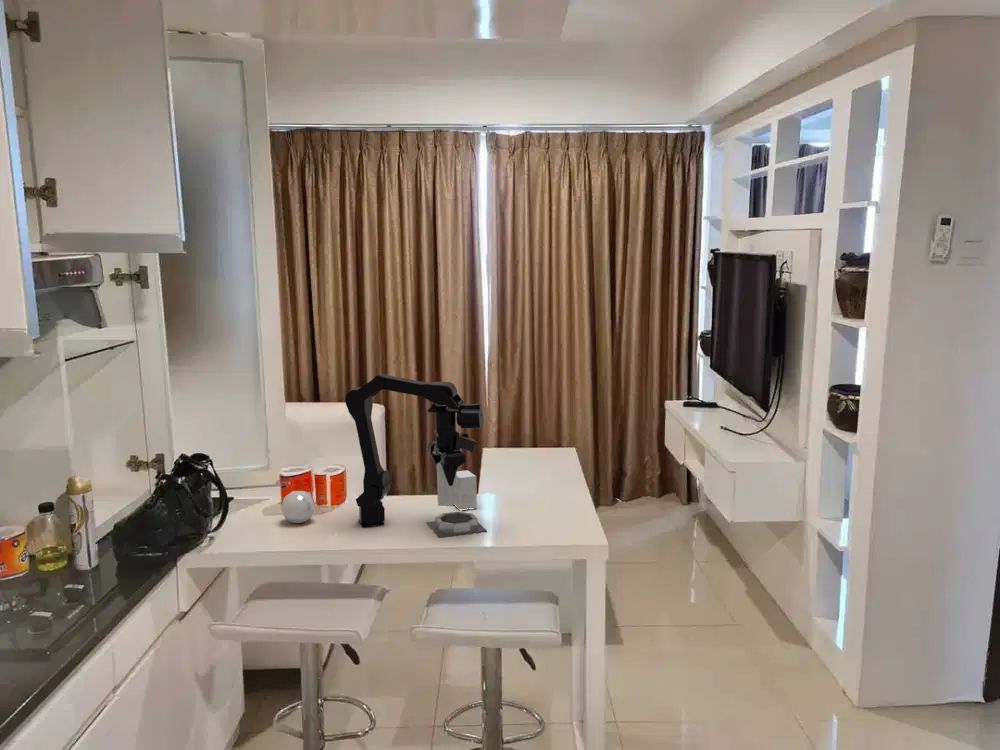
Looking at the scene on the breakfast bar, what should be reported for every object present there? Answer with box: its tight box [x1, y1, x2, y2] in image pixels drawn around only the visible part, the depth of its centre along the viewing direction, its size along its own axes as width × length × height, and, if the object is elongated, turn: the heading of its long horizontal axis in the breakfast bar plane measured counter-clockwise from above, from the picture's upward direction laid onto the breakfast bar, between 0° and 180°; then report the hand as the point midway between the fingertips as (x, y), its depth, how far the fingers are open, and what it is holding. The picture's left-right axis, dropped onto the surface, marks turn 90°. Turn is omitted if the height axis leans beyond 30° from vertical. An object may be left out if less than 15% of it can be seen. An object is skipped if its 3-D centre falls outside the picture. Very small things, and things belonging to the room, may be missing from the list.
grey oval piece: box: [280, 490, 316, 524], centre depth 220 cm, size 9×10×15 cm
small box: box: [454, 470, 478, 509], centre depth 232 cm, size 8×6×10 cm
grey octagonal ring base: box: [426, 511, 488, 539], centre depth 213 cm, size 14×13×3 cm
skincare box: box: [436, 461, 458, 507], centre depth 212 cm, size 6×4×12 cm
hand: (447, 482), depth 212 cm, fingers closed on skincare box, 7 cm apart
